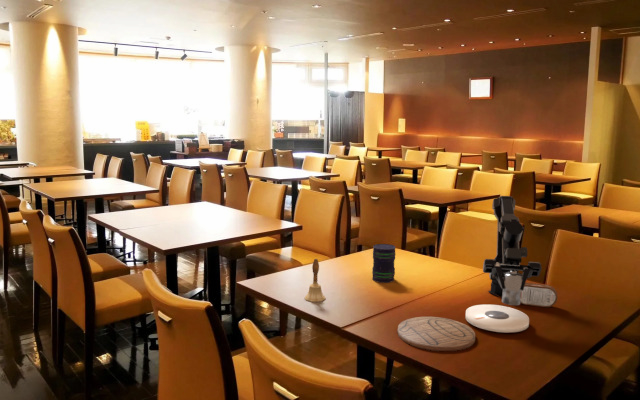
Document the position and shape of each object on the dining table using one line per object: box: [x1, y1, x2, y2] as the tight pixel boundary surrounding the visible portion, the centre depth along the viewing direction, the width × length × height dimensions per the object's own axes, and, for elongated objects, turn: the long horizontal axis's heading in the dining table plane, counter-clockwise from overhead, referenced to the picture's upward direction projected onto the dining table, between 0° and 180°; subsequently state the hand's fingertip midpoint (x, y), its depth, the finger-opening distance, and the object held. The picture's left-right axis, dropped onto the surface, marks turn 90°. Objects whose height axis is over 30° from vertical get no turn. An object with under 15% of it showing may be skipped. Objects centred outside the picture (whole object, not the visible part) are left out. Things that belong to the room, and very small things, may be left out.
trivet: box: [397, 316, 476, 352], centre depth 174 cm, size 25×25×2 cm
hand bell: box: [304, 258, 326, 303], centre depth 207 cm, size 8×8×16 cm
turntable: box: [465, 304, 530, 333], centre depth 185 cm, size 21×21×2 cm
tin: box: [520, 282, 558, 308], centre depth 203 cm, size 15×3×8 cm, turn 71°
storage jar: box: [371, 243, 396, 284], centre depth 233 cm, size 10×10×15 cm
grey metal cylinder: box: [501, 270, 523, 306], centre depth 181 cm, size 6×6×11 cm
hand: (512, 289), depth 180 cm, fingers closed on grey metal cylinder, 6 cm apart
